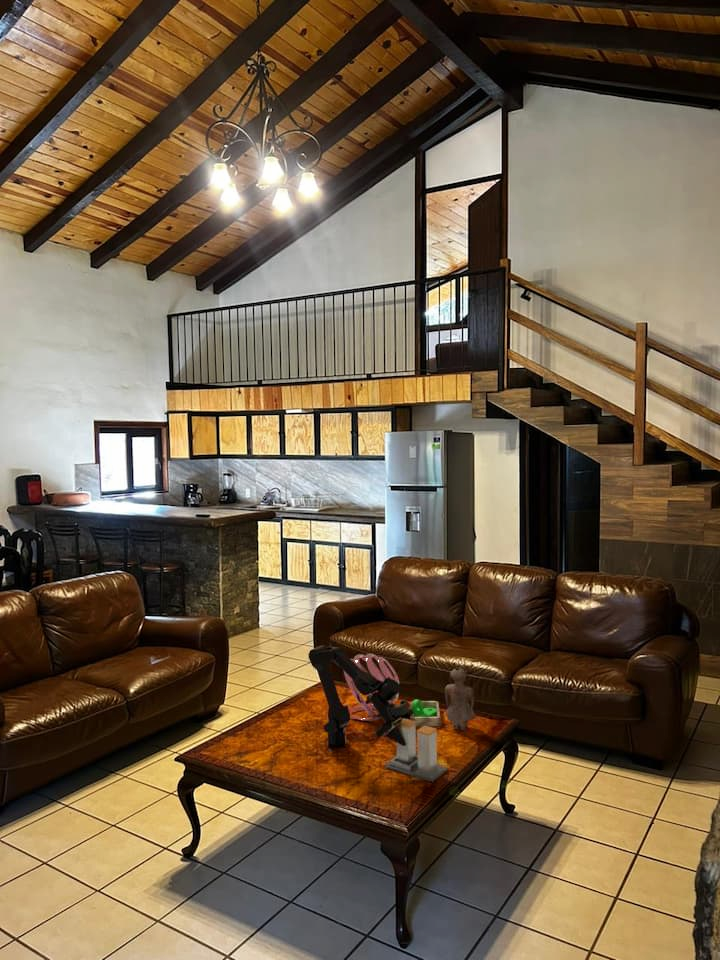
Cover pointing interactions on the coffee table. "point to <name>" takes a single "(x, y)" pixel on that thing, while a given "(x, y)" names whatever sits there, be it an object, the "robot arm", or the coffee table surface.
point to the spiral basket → (377, 675)
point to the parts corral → (428, 720)
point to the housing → (422, 757)
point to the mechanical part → (419, 711)
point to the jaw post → (406, 742)
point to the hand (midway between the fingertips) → (408, 742)
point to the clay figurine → (459, 700)
